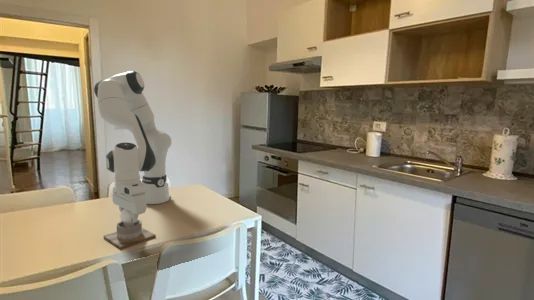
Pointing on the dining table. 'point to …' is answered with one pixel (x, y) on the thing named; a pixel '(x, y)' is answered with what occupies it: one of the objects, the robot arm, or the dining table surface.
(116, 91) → the robot arm
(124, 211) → the lightbulb
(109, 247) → the dining table surface
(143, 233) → the socket base
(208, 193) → the dining table surface
